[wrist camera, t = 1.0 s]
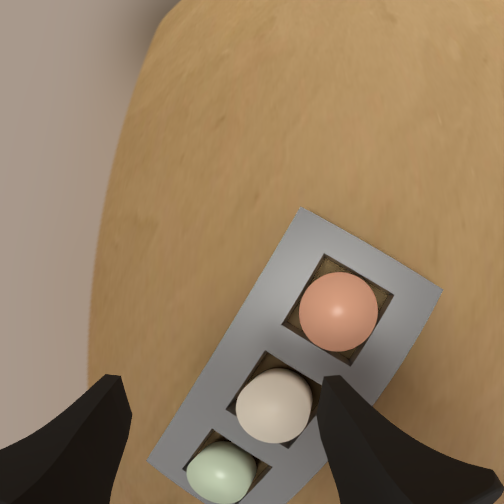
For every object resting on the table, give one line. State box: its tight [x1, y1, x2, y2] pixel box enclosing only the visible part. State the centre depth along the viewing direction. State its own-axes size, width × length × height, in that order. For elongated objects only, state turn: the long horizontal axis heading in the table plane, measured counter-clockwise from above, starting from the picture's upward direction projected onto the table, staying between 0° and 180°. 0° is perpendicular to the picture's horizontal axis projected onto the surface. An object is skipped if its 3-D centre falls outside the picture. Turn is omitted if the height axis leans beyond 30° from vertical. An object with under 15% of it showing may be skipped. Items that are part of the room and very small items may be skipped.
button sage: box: [187, 441, 257, 504], centre depth 21 cm, size 5×5×3 cm
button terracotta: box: [299, 272, 378, 352], centre depth 20 cm, size 5×5×3 cm
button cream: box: [236, 368, 313, 443], centre depth 20 cm, size 5×5×3 cm
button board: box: [146, 207, 443, 504], centre depth 22 cm, size 12×26×2 cm, turn 148°
